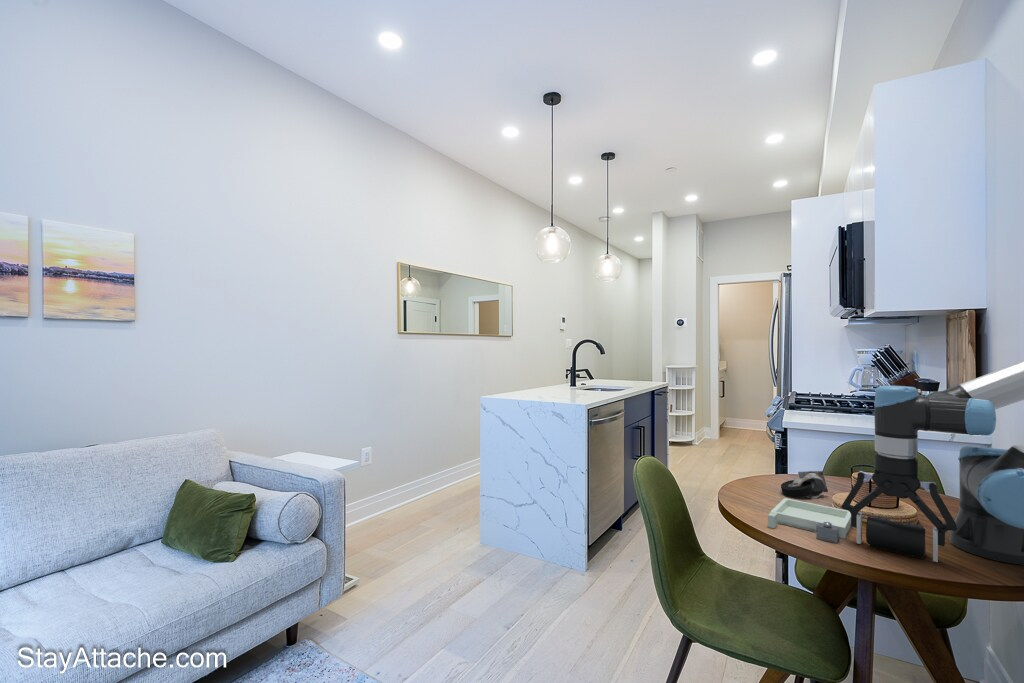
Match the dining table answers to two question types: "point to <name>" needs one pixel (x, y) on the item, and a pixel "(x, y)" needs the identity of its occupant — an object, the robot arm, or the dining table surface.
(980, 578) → the dining table surface
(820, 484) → the caster wheel
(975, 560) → the dining table surface
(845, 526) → the pale green tray
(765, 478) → the dining table surface
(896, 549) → the end cap
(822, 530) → the block
